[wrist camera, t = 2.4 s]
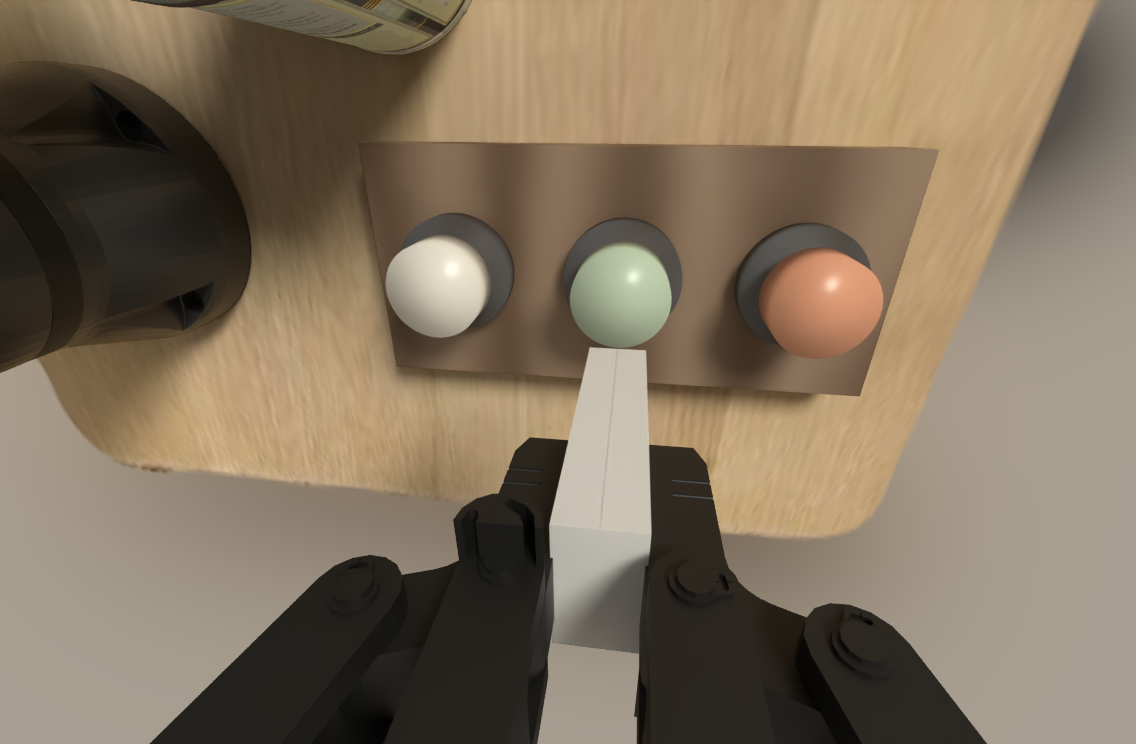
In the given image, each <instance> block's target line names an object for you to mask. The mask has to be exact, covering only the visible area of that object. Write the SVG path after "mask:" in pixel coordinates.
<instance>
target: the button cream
mask: <svg viewBox="0 0 1136 744" xmlns="http://www.w3.org/2000/svg"><path fill="white" fill-rule="evenodd" d="M386 291H387V296H388V299H389V302H390V304H391V306H392V308H393V310H394V311H395V313H396V314H397V315H398V317H399V318H400V319H401V320H402V321H403V322H404V323H405V324H406V325H408V326H409V327H410V328H412V329H413V330H415V331H417V332H419V333H421V334H424V335H427V336H431V337H438V338H444V337H450V336H454V335H456V334H459V333H461V332H462V331H464V330H465V329H466V328H467V327H469V325H470V324H471V323H472V322H473V321H474V320H475V318H476V317H477V316H478V315H479V314H480V312H481V311H482V310H483V309H484V308H485V306H486V304H487V302H488V300H489V297H490V294H491V277H490V273H489V270H488V267H487V265H486V263H485V261H484V259H483V258H482V256H481V255H480V254H479V253H478V252H477V250H476V249H474V248H473V247H472V246H471V245H470V244H468V243H467V242H465V241H463V240H461V239H459V238H456V237H453V236H449V235H434V236H430V237H427V238H425V239H423V240H421V241H419V242H417V243H415V244H413V245H411V246H409V247H407V248H406V249H404V250H402V251H401V252H399V253H398V254H397V255H396V256H395V257H394V259H393V260H392V262H391V263H390V265H389V267H388V271H387V275H386Z"/></svg>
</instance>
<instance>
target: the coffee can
mask: <svg viewBox="0 0 1136 744" xmlns="http://www.w3.org/2000/svg"><path fill="white" fill-rule="evenodd" d="M132 1H138V2H144V3H149V4H154V5H161V6H168V7H190V8H194V9H199V10H203V11H208V12H212V13H217V14H221V15H225V16H230V17H234V18H238V19H243V20H247V21H252V22H256V23H260V24H264V25H268V26H273V27H277V28H281V29H286V30H290V31H294V32H298V33H301V34H306V35H310V36H316V37H320V38H324V39H329V40H333V41H337V42H341V43H345V44H350V45H354V46H357V47H359V48H361V49H364V50H367V51H371V52H375V53H380V54H392V55H404V54H408V53H411V52H416V51H420V50H422V49H424V48H427V47H429V46H431V45H433V44H434V43H436V42H438V41H439V40H440V39H442V38H443V37H444V36H445V35H447V34H448V33H449V32H450V31H451V30H452V29H453V28H454V26H455V25H456V24H457V23H458V22H459V20H460V19H461V18H462V16H463V15H464V14H465V13H466V11H467V9H468V6H469V4H470V2H471V0H132Z"/></svg>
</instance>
